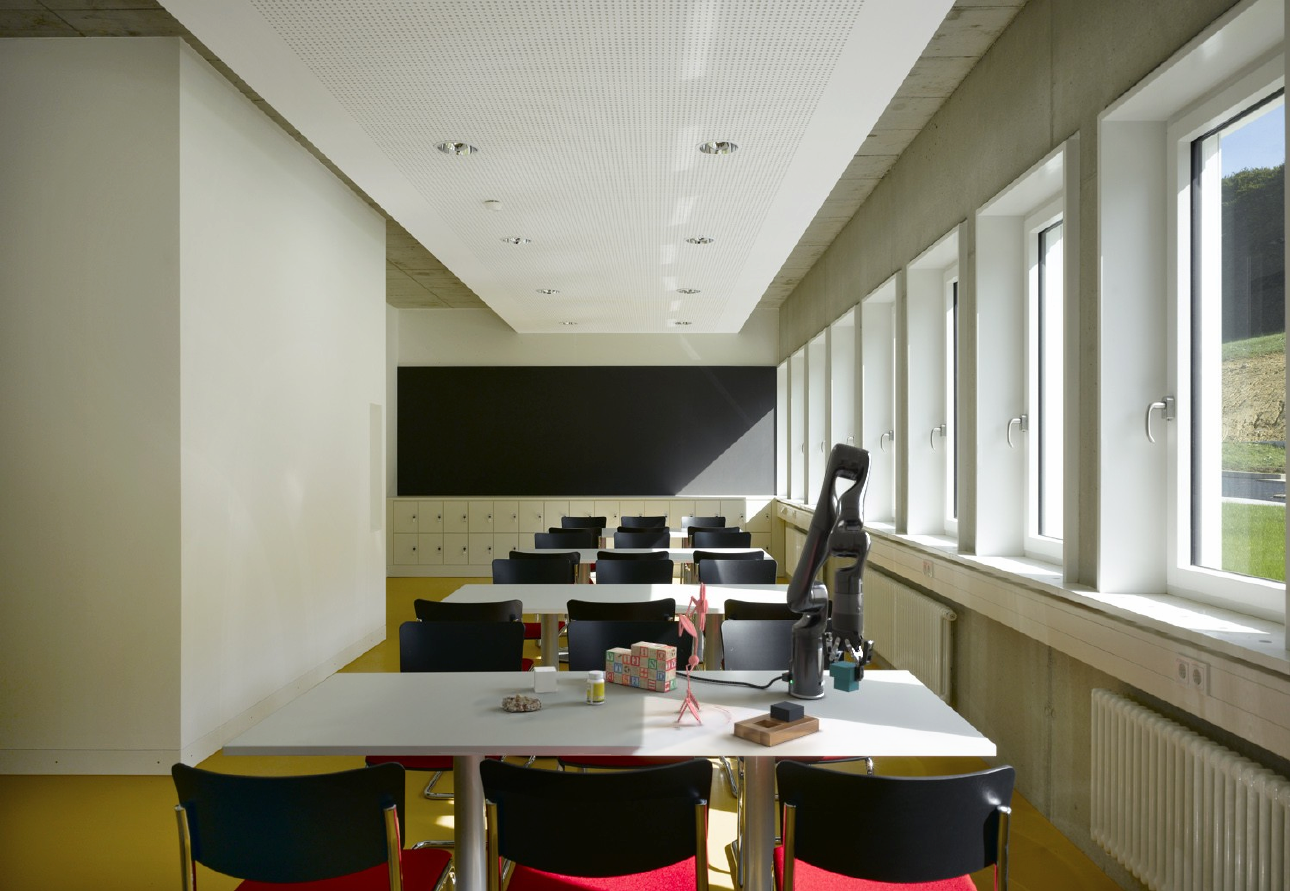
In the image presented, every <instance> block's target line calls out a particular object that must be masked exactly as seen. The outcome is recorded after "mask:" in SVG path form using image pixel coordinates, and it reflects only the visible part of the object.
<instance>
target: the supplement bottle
mask: <svg viewBox="0 0 1290 891" xmlns="http://www.w3.org/2000/svg"><path fill="white" fill-rule="evenodd" d="M604 703H605V679H604V672H603V671H602V670H590V671H588V679H587V680H586V704H588V705H592V706H599V705H603V704H604Z"/></svg>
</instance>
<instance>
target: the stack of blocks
mask: <svg viewBox="0 0 1290 891" xmlns="http://www.w3.org/2000/svg"><path fill="white" fill-rule="evenodd" d="M676 672H677V646H671V645H667V644H664V643H663V644H662V643H653V642H647V641H646V642H645V641H639V642H636V643H632V644H631V645H630V649H629V648H623V647H614V648H611V649H608V650H606V651H605V682H610V683H614V684H615V683H616V684H620V685H626V686H631V687H635V688H641V689H647V690H649V691H650V690H651V691H655V692H656V691H657V692H661V693H667V692H670V691H672V690H674V689H676V681H677V680H676V679H677V678H676Z"/></svg>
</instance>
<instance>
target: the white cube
mask: <svg viewBox="0 0 1290 891" xmlns="http://www.w3.org/2000/svg"><path fill="white" fill-rule="evenodd" d="M557 673H558V672H557V668H556V667H555V666H534V667H533V690H534V693H535V694H541V693H542V694H543V693H545V694H546V693H557V676H558V675H557Z"/></svg>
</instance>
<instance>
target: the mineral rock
mask: <svg viewBox="0 0 1290 891" xmlns="http://www.w3.org/2000/svg"><path fill="white" fill-rule="evenodd" d="M501 706H502V709H503V710H504V711H507V712H511V713H515V712H533V711H538V710H541V708H542V702H541V700H540V698H532V697H529V696H526V695H525V696H523V695H522V694H520V693H517V694H516V695H515V696H513V697H512V696H506V697H503V698H502V702H501Z"/></svg>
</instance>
